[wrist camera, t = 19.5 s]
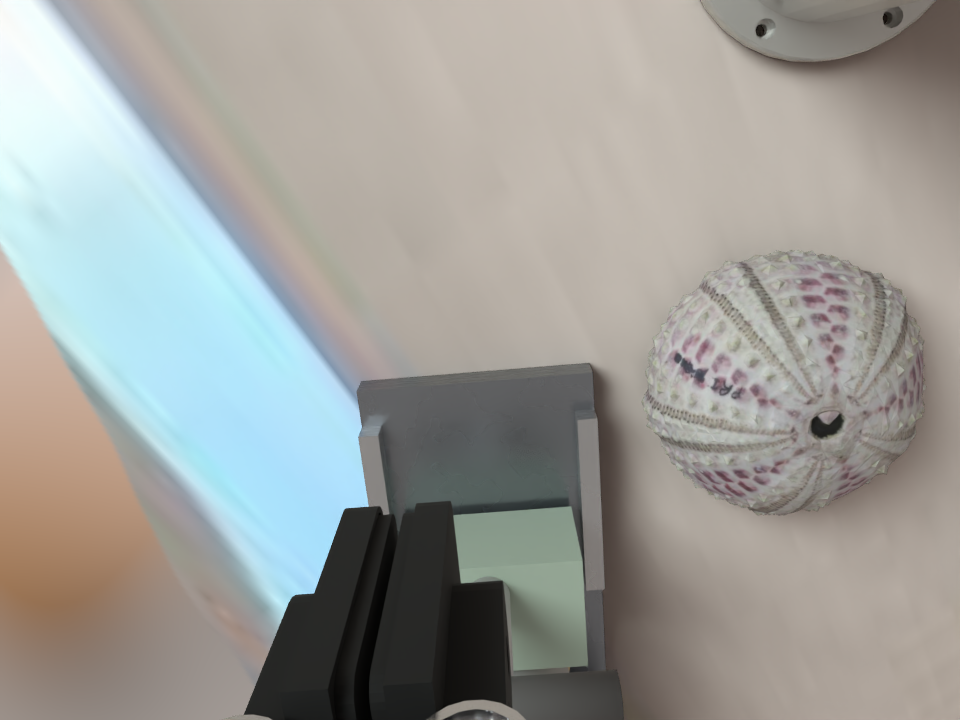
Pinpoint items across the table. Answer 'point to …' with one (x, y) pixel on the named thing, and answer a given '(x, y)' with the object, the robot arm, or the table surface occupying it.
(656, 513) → the table surface
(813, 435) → the sea urchin shell
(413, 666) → the robot arm
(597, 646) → the base
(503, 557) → the grey-green handled block
